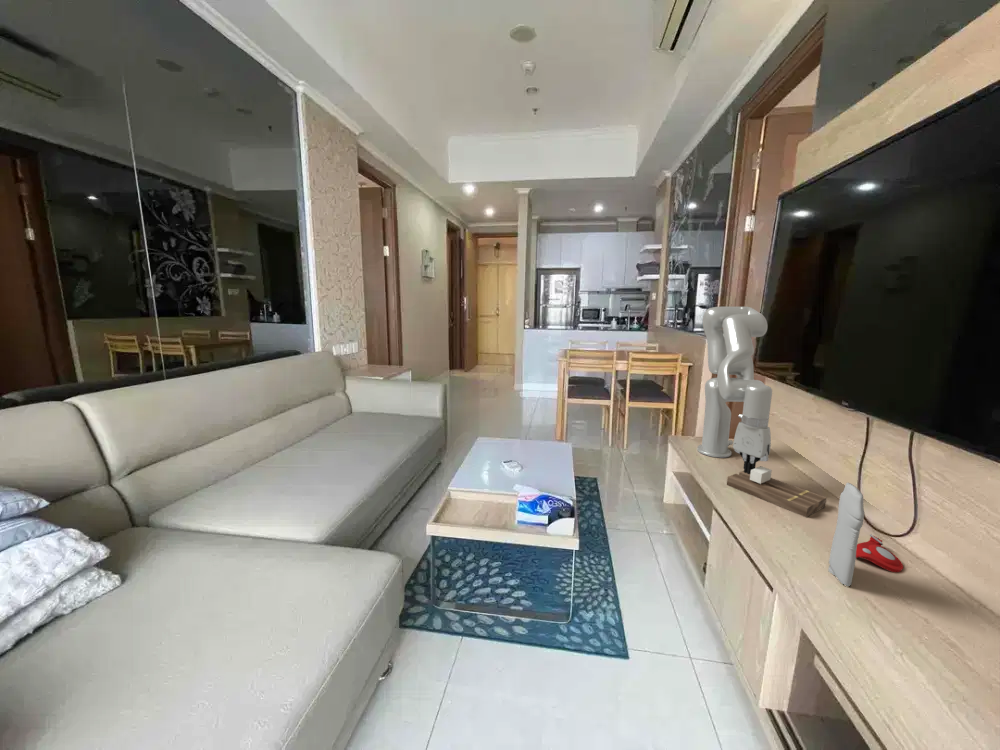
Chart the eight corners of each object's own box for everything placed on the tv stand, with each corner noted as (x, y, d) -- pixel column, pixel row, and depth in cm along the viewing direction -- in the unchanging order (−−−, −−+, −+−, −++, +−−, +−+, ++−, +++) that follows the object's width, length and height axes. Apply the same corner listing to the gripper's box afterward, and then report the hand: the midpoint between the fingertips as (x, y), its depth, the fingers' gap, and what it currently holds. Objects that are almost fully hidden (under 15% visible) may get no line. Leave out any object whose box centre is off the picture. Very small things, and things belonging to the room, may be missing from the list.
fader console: (746, 477, 145) (747, 469, 145) (825, 506, 125) (826, 497, 124) (726, 484, 139) (727, 476, 139) (806, 517, 119) (807, 507, 118)
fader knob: (758, 480, 139) (760, 466, 138) (769, 484, 136) (771, 469, 135) (749, 484, 136) (750, 469, 135) (759, 488, 133) (761, 473, 132)
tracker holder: (916, 571, 94) (872, 559, 95) (904, 584, 96) (861, 571, 97) (882, 532, 105) (843, 521, 106) (872, 543, 107) (833, 533, 108)
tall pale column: (821, 558, 101) (835, 476, 96) (841, 562, 99) (856, 479, 95) (836, 585, 91) (852, 496, 87) (859, 590, 90) (877, 500, 85)
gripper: (726, 417, 139) (721, 466, 143) (772, 429, 127) (765, 483, 130) (739, 414, 143) (733, 462, 146) (785, 425, 130) (778, 478, 134)
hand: (748, 472), depth 138 cm, fingers closed
